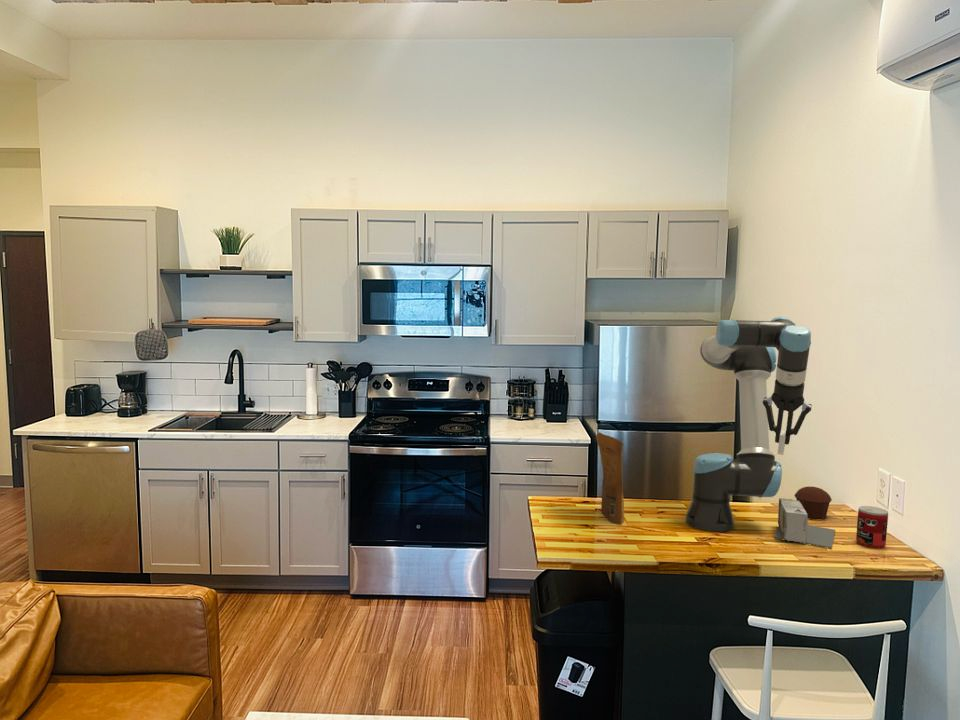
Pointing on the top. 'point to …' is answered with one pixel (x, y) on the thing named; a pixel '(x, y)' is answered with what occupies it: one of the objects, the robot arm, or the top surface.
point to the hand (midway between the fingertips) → (780, 452)
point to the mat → (815, 536)
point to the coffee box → (792, 520)
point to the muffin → (814, 501)
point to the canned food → (872, 527)
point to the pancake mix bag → (611, 478)
